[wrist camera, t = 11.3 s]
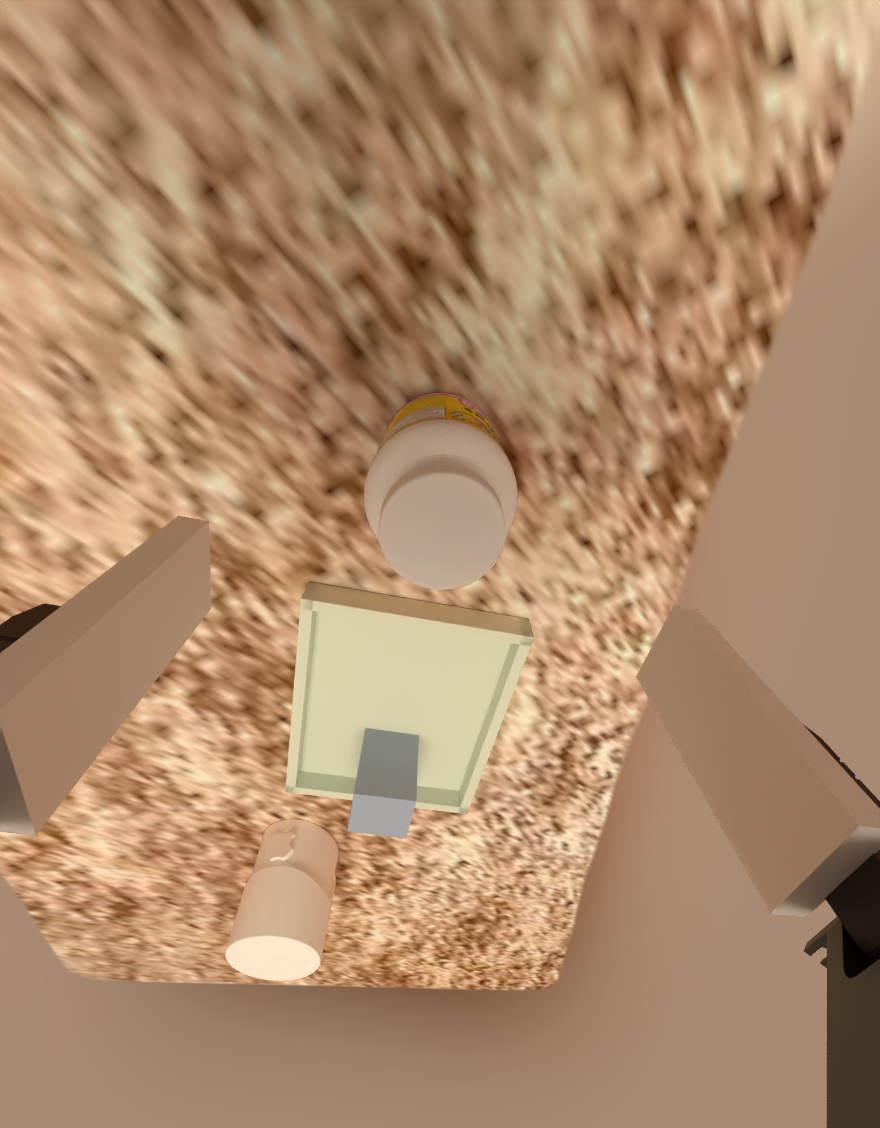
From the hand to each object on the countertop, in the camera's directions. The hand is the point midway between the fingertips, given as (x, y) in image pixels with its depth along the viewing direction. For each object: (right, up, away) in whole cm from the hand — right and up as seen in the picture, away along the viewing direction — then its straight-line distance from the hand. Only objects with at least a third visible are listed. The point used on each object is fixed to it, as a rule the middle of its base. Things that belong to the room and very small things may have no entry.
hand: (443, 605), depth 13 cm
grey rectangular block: (-5, -15, +26) cm, 31 cm away
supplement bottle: (0, +8, +15) cm, 17 cm away
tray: (-3, -10, +25) cm, 27 cm away
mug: (-14, -29, +35) cm, 47 cm away
